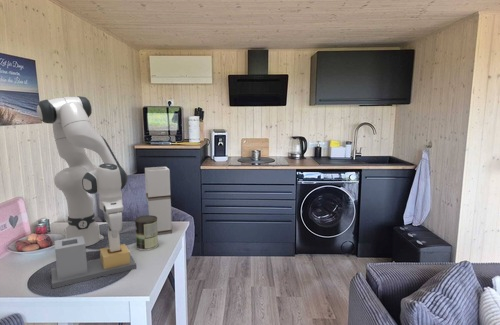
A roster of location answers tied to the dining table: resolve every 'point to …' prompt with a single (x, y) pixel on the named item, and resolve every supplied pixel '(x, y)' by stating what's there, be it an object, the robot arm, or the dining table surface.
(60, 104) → the robot arm
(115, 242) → the plug
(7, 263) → the dining table surface
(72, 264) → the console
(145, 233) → the coffee can
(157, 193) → the striped beige pillar
